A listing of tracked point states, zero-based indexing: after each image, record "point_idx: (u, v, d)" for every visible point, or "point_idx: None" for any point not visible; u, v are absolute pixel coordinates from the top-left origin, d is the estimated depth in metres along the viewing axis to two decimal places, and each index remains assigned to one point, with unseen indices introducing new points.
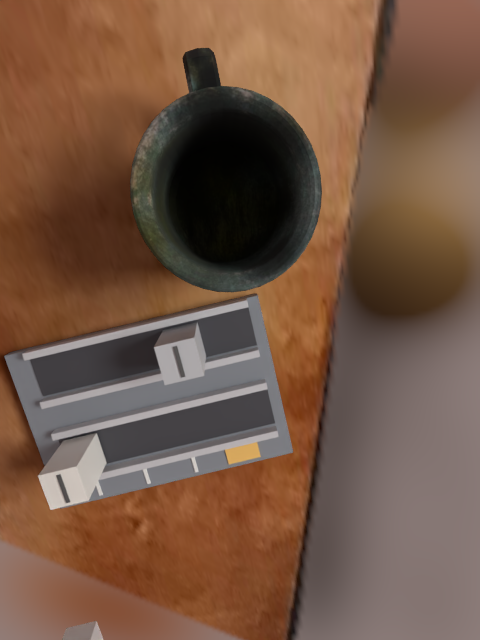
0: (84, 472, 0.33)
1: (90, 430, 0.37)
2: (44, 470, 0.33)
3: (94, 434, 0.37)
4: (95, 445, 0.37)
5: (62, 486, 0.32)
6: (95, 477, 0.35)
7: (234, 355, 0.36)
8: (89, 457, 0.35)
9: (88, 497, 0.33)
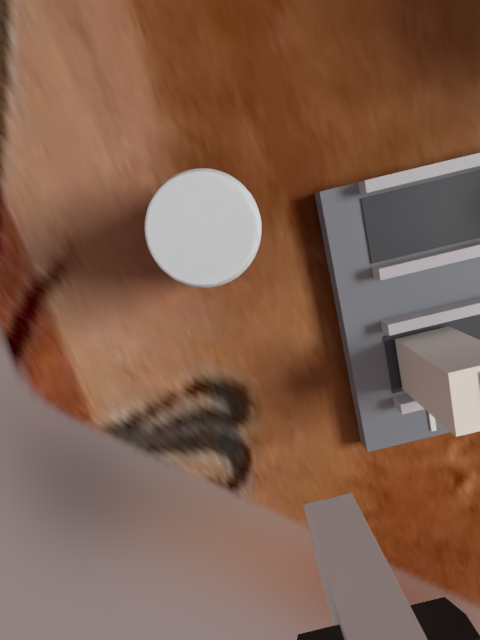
0: None
1: (451, 318, 0.22)
2: (444, 366, 0.19)
3: (448, 327, 0.23)
4: None
5: None
6: None
7: None
8: None
9: None
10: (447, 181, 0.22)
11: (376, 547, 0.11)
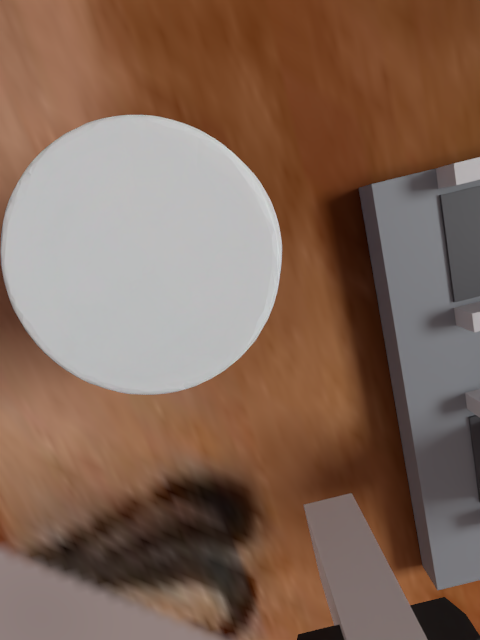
0: None
1: None
2: None
3: None
4: None
5: None
6: None
7: None
8: None
9: None
10: None
11: (376, 547, 0.11)
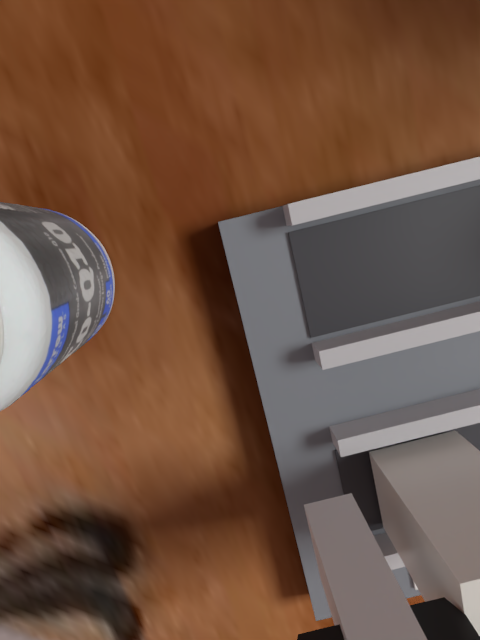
0: None
1: (442, 428, 0.14)
2: (453, 558, 0.10)
3: (456, 435, 0.14)
4: None
5: None
6: None
7: None
8: None
9: None
10: (432, 203, 0.13)
11: (376, 547, 0.11)
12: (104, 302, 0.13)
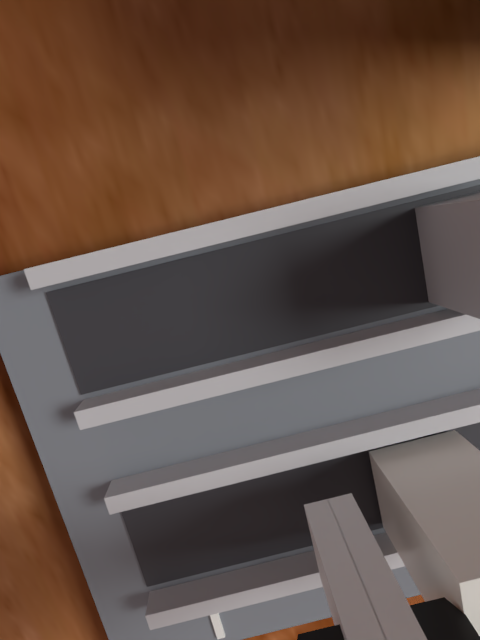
0: None
1: (210, 486, 0.14)
2: (452, 557, 0.10)
3: (455, 434, 0.14)
4: None
5: None
6: None
7: None
8: None
9: None
10: (191, 262, 0.13)
11: (376, 547, 0.11)
12: None
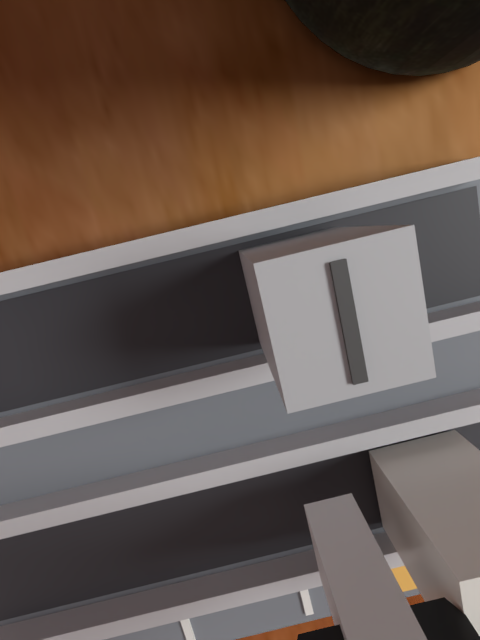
0: None
1: (39, 526, 0.14)
2: (452, 556, 0.10)
3: (455, 434, 0.14)
4: None
5: None
6: None
7: (437, 320, 0.13)
8: None
9: None
10: (13, 304, 0.13)
11: (376, 547, 0.11)
12: None
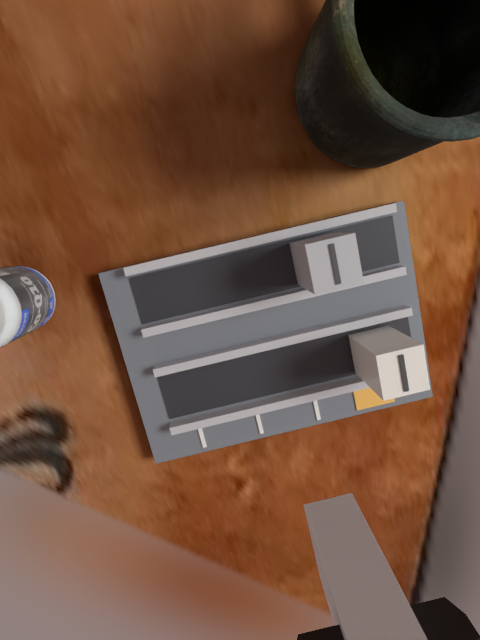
0: None
1: (199, 365, 0.30)
2: (375, 352, 0.27)
3: (387, 326, 0.31)
4: None
5: (402, 369, 0.26)
6: None
7: (375, 273, 0.30)
8: None
9: (428, 386, 0.27)
10: (192, 265, 0.30)
11: (376, 547, 0.11)
12: (48, 307, 0.30)
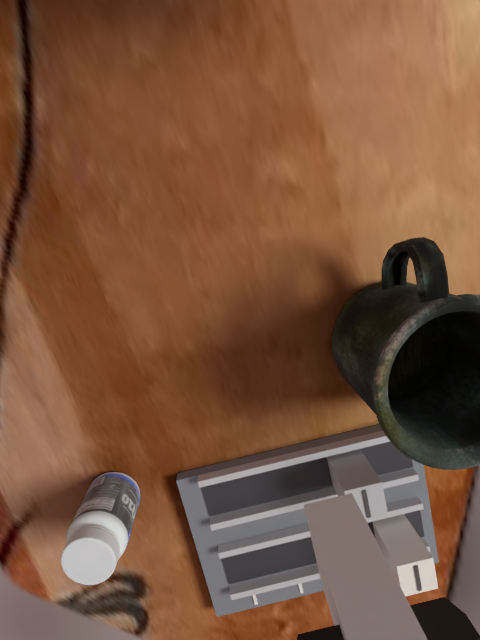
0: None
1: (255, 549, 0.39)
2: (396, 559, 0.35)
3: (403, 515, 0.39)
4: None
5: (417, 575, 0.34)
6: None
7: (394, 478, 0.38)
8: None
9: (436, 585, 0.35)
10: None
11: (376, 547, 0.11)
12: (137, 508, 0.38)
